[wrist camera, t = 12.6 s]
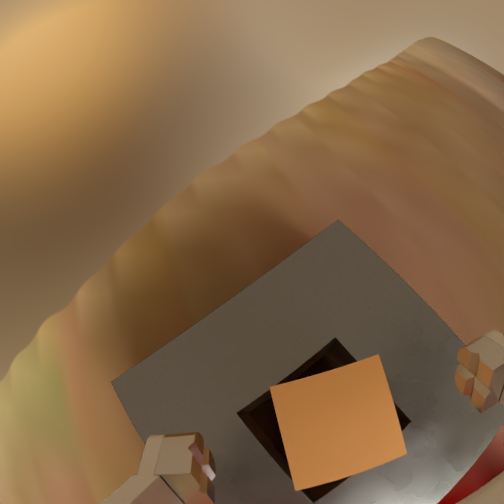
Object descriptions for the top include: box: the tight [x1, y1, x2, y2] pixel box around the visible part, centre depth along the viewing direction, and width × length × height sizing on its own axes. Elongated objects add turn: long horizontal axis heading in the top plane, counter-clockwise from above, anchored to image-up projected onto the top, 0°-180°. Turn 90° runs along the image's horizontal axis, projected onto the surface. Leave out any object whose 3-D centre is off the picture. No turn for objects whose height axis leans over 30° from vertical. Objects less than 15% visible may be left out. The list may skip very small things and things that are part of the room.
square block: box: [270, 354, 407, 491], centre depth 12 cm, size 4×4×8 cm
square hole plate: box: [111, 220, 504, 504], centre depth 14 cm, size 16×16×4 cm
